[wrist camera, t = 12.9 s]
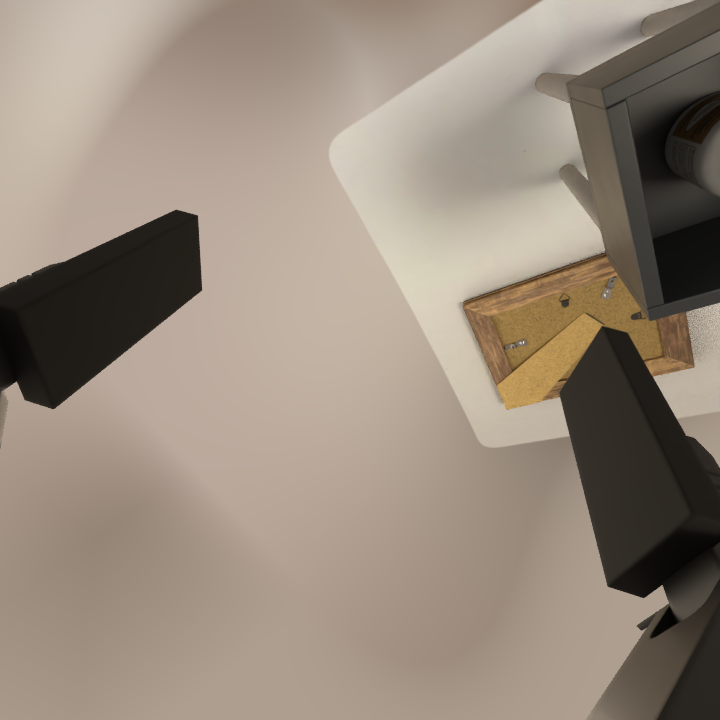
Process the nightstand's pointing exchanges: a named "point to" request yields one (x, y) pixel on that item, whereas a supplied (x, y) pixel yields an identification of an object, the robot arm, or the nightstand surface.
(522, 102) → the nightstand surface
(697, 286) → the legged open box
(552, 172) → the nightstand surface
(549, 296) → the picture frame
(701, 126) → the pill bottle
